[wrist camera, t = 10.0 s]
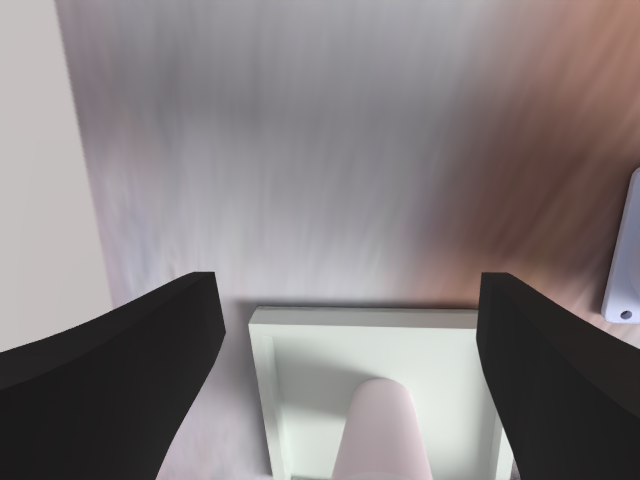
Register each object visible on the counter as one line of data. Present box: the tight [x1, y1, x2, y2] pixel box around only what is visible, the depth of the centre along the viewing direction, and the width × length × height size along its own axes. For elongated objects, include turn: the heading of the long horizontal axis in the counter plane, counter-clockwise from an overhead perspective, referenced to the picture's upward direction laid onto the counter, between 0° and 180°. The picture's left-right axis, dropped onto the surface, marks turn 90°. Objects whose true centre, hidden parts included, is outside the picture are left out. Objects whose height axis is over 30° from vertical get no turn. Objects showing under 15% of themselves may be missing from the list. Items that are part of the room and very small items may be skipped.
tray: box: [248, 306, 514, 480], centre depth 25 cm, size 15×15×2 cm
